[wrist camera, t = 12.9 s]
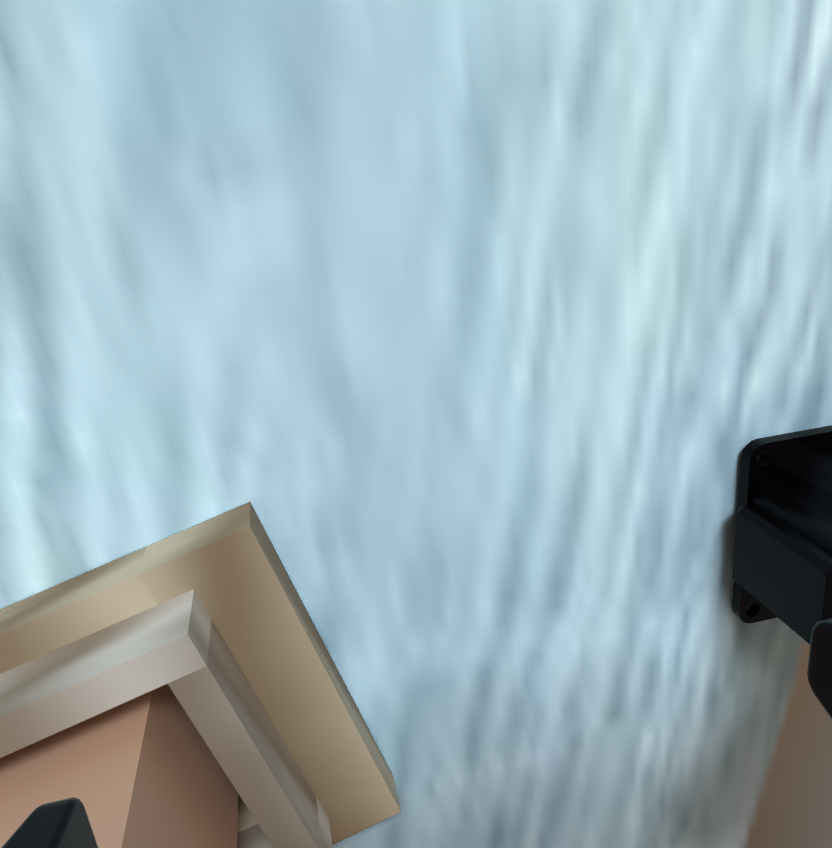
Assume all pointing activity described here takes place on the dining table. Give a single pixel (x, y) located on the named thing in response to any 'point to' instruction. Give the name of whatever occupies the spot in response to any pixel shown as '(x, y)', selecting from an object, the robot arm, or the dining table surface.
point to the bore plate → (205, 676)
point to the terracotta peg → (127, 778)
